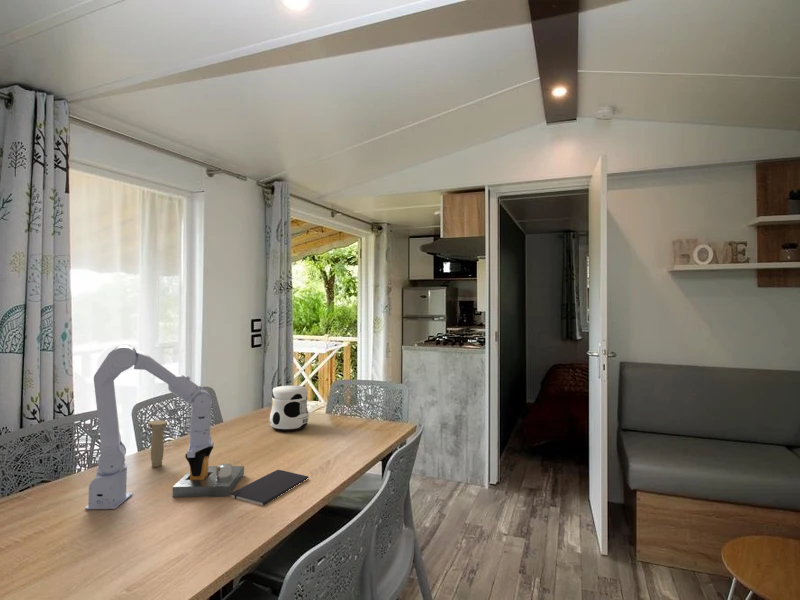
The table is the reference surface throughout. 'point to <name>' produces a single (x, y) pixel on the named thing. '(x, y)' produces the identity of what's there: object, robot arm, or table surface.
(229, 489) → the hub plate
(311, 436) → the table surface
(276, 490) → the notebook
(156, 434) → the handle
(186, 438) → the table surface
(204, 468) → the orange rectangular block
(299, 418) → the milk container
